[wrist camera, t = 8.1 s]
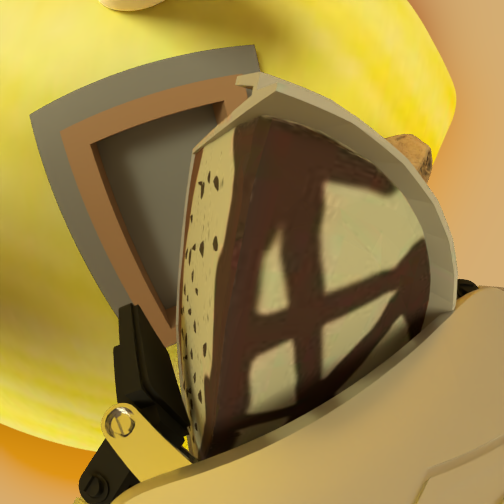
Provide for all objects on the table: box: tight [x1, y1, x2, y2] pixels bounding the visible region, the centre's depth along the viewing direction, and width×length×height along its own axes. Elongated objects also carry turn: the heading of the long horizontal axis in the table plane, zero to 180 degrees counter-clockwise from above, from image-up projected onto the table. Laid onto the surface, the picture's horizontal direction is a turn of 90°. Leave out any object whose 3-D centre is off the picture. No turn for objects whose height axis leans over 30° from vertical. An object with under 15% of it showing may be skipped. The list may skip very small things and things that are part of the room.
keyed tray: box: [30, 45, 260, 348], centre depth 18 cm, size 16×22×4 cm
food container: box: [176, 72, 458, 461], centre depth 9 cm, size 12×6×10 cm, turn 169°
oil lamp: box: [384, 134, 432, 184], centre depth 22 cm, size 11×15×8 cm
